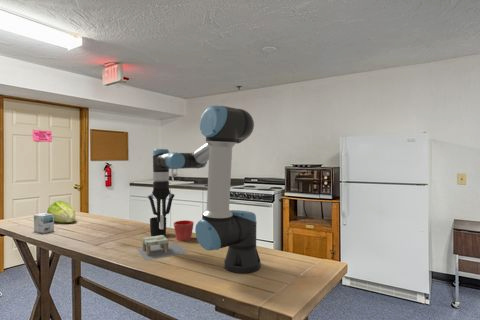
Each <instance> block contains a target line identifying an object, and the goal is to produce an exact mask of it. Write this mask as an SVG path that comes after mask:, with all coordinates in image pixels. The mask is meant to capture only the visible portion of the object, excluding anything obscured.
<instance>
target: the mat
mask: <svg viewBox="0 0 480 320" xmlns="http://www.w3.org/2000/svg"><path fill="white" fill-rule="evenodd" d="M136 249H137V252H139V253H140V255H141V256H142V258H143V259H144V261H150V260H154V259H155V260H156V259H161V258H167V257H175V256H178V255H179V256H180V255H186V254H189V252H188V251H187V250H186V249H184V248H183V247H182V246H181V245H179V244H178V243H177V242H173V243H172V242H170V243H168V252H167V253H165V252H164V248H160V244H158V245H151V246H150V255H148V256H147V255H146V250H145V251H143V247H138V248H136Z"/></svg>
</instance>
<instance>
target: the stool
mask: <svg viewBox="0 0 480 320" xmlns="http://www.w3.org/2000/svg"><path fill="white" fill-rule="evenodd" d="M168 244H169V239H168V238H167V237H166V235H165V236H163V235H160V236H145V237H142V248H143V251H145V250H146V255H147V256H148V255H150V246H157V245H160V248H164V252H165V253H167V252H168Z"/></svg>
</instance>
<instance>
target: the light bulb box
mask: <svg viewBox="0 0 480 320" xmlns="http://www.w3.org/2000/svg"><path fill="white" fill-rule="evenodd" d="M33 232H34V233H35V232H36V233H39V234H40V233H41V234H46V233H51V232H55V221H54V214H47V212H46V213H45V212H43V213H37V214H36V213H35V214H33Z"/></svg>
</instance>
